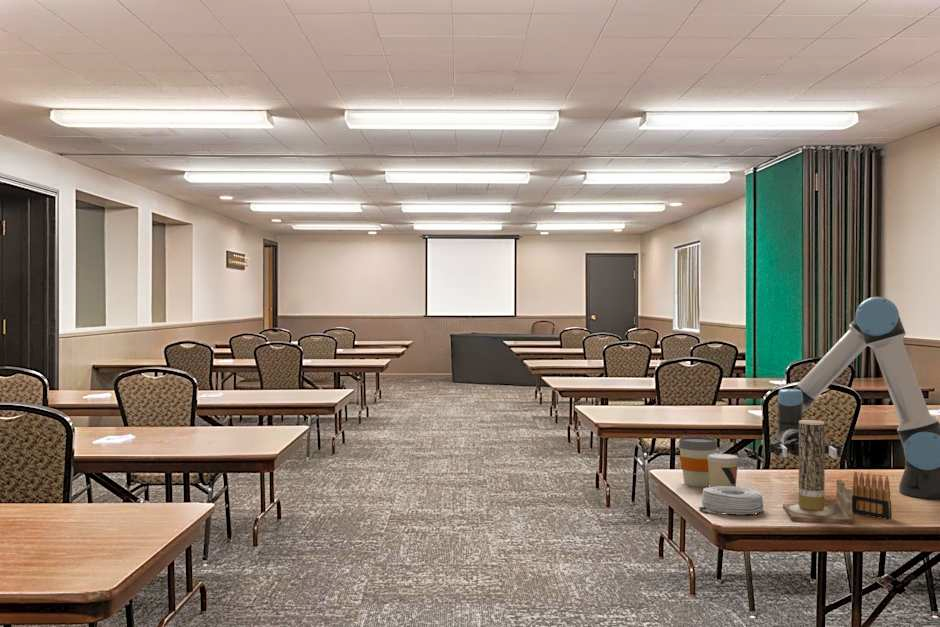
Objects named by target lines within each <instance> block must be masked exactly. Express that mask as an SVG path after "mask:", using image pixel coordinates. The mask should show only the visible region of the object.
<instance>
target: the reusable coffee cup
mask: <svg viewBox="0 0 940 627" xmlns="http://www.w3.org/2000/svg"><path fill="white" fill-rule="evenodd" d="M678 448H679V451H680V452H679V453H680V454H679V463H680V468H681V470H682V474H683V475H682V476H683V477H682V478H683V483H684V485H686V486H691V487H710V486H709V485H710V484H709V470H708V459H707V458H708V456H709V455H710V454H717V451H716V450H718V444H717V439H716V438H711V437H708V436H707V437H706V436H705V437H704V436H683V437H680V438H679V442H678Z"/></svg>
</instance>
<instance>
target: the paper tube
mask: <svg viewBox="0 0 940 627" xmlns="http://www.w3.org/2000/svg"><path fill="white" fill-rule="evenodd" d="M825 436H826V434H825V421H823V420H815V419H803V420H799V456H798V504H799V507H800V508H801V509H804V510H809V511H821V510H823V509H824V506H825V475H826V474H825V473H826V472H825V470H826V469H825V468H826V467H825V462H826V461H825V459H826V458H825V456H826V455H825V443H826V441H825Z"/></svg>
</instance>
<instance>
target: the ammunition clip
mask: <svg viewBox="0 0 940 627" xmlns="http://www.w3.org/2000/svg"><path fill="white" fill-rule="evenodd" d="M870 477H871V476H870V474H869V472H867V473H866V476H865V477H864V473H863V472H861V473H860V474H859V477H858V473H857V471H855V472H854V473H853V479H852V480H853V482H852V512H853V513H852V514H855V513H858V514H857V515H861V514H863V516H866V515H869V516H868V517H871V516H875V517H874V518H877V517H881V518H880V519H882V518H886V519H885V520H888V519H889V520H891V519H890V518H892V500H891V490H890V489H891V487H890V479H889V476H887V475H886V476H885V480H884V481H883V477H882V475H881V474H880V475H879V476H878V480H877V477H876V475H875V473H873V474H872V479H871V478H870ZM892 519H893V518H892Z"/></svg>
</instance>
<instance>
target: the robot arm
mask: <svg viewBox="0 0 940 627" xmlns="http://www.w3.org/2000/svg"><path fill="white" fill-rule="evenodd" d="M899 314H900V313H899V310H898V307H897V305H896V304H895V303H894V302H892V301H891V300H890V299H888V298H887V297H883V296H872V297H869V298H867V299H864V300H862V302H861V303H860V304H858V306H857V308H856V311H855V315H854V316H855V318H854V319H853V320H852V321H851V322H850V323H849V325H848V326H849V329H848V330H847V331H846V332H845V333H844V334H843V335H842V336H841V338H839V339H838V341H837V342H836V343H835V344H834V345H833V346H832V347H831V348H830V349H829V350H828V352H827V353H825V354H824V355H823V357H822V358H821V359H819V361H818V362H817V363H816V364H815V365H814V366H813V367H812V369H811V368H810V369H811V370H809V372H808V373H807V374H805V376H804V377H803V378H802V379H801V380H800V381H799V382H798V383H797V385H795V386H794V387H793V388H783V389H782V388H781V389H779V390H778V396H777V404H778V405H777V406H778V408H777V410H778V412H777V413H778V416H777V418H778V421H777V422H778V423H777V430H776V432H775V436H776V437H775V438H776V441H774V442H771V443H768V444H769V451H768V452H769V453H771V454H773V453H775V456H776V457H777V456H778V457H779V456H782V457H783V458H784V459H785V458H788V453H789V454H791V455H793V456H796V457H799V420H804V418H803V416H804V413H805V412H806V411H807V410H808V409H809V407H810V406H811V405H812V404H813V403H814V401H816V400H817V398H818V397H819V396H821V394H822V393H824V391H825V390H826V389H827V388H829V386H830V385H831V384H832V383H833V382H834V381H835V380H836V379H837V378H838V377H839V376H840V375H841V374H842V372H844V371H845V369H846V368H848V366H849V365H850V364H851V363H852V362H854V360H855V359H856V358H858V356H859V355H860V354H862V352H863V351H864V349H866V347H869V348H872V350H873V353H874V355H875V358H876V361H877V363H878V365H879V368H880V372H881V373H882V378H883V381H884V382H885V385H886V388H887V390H888V393H889V396H890V399H891V401H892V405H893V407H894V409H895V413H896V415H897V417H898V420H899V424H898V426H897V429H896V431H897V433H898V437H899V439H900V442H901V446H902V448H903V455H904V457H905V458H904V459H905V460H904V461H905V462H904V464H905V465H904V470H903V473H902V477H901V478H900V481H899V485H898V491H899V493H900V494H903V495H905V496H911V497H914V498H920V499H933V500H936V499H937V500H940V421H939V420H938V419H937V418H936V417H934V416H932V415H931V413H930V411H929V408H928V406H927V403H926V400H925V398H924V395H923V392H922V390H921V386H920V384H919V381H918V379H917V376H916V373H915V370H914V367H913V365H912V363H911V362H912V361H911V359H910V357H909V355H908V352H907V351H908V350H906V346H905V343H904V338H905V336H906V330H905V328H904V325H903V323H902V320H901V317H900V315H899ZM825 454H826V455H828V456H829V457H831V458H832V459H833V460H837V459H838V456H841V455H842V446H841V445H838V444H836V443H827V442H825Z"/></svg>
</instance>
